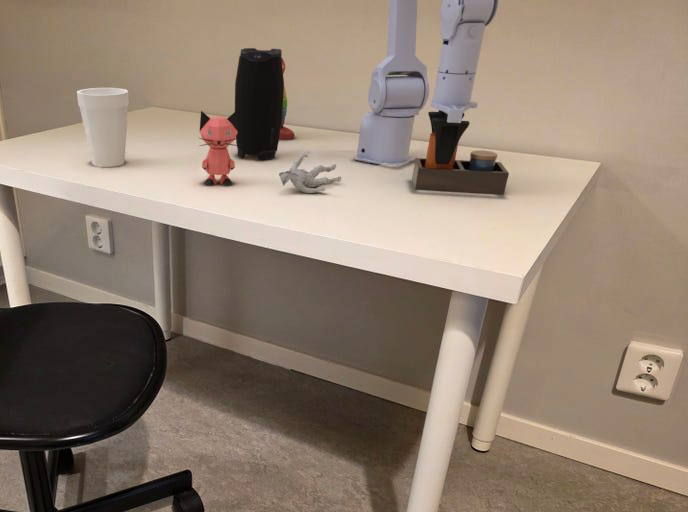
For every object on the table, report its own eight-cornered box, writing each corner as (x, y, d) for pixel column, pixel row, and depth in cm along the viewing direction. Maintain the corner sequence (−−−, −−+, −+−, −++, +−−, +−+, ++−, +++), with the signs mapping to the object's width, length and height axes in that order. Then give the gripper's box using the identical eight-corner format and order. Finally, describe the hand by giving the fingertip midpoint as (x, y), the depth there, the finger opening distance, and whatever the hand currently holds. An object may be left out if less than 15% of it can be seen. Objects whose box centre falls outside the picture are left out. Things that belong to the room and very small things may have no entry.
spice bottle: (418, 176, 108) (427, 124, 104) (430, 171, 111) (439, 120, 107) (444, 181, 106) (454, 128, 101) (455, 176, 109) (466, 124, 104)
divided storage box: (411, 181, 113) (415, 157, 111) (495, 186, 111) (500, 162, 109) (414, 193, 107) (418, 168, 105) (503, 198, 105) (509, 173, 103)
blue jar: (459, 187, 108) (466, 153, 105) (469, 182, 111) (476, 149, 108) (484, 192, 106) (492, 157, 103) (493, 186, 108) (501, 153, 105)
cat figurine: (197, 187, 110) (197, 114, 103) (198, 177, 115) (197, 106, 109) (239, 187, 110) (240, 114, 103) (237, 177, 115) (239, 107, 109)
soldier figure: (348, 193, 110) (308, 184, 102) (326, 208, 113) (286, 200, 105) (332, 155, 112) (292, 142, 103) (311, 170, 115) (270, 159, 106)
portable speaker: (228, 152, 132) (230, 48, 122) (271, 150, 134) (277, 47, 124) (240, 162, 125) (243, 51, 115) (286, 159, 127) (292, 50, 117)
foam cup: (141, 160, 126) (137, 89, 119) (116, 171, 119) (110, 96, 112) (100, 155, 130) (94, 86, 123) (74, 165, 122) (66, 93, 116)
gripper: (491, 78, 93) (471, 172, 100) (476, 67, 106) (459, 151, 113) (441, 77, 95) (425, 169, 102) (432, 66, 107) (418, 149, 114)
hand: (440, 160), depth 107 cm, fingers closed on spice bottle, 5 cm apart
